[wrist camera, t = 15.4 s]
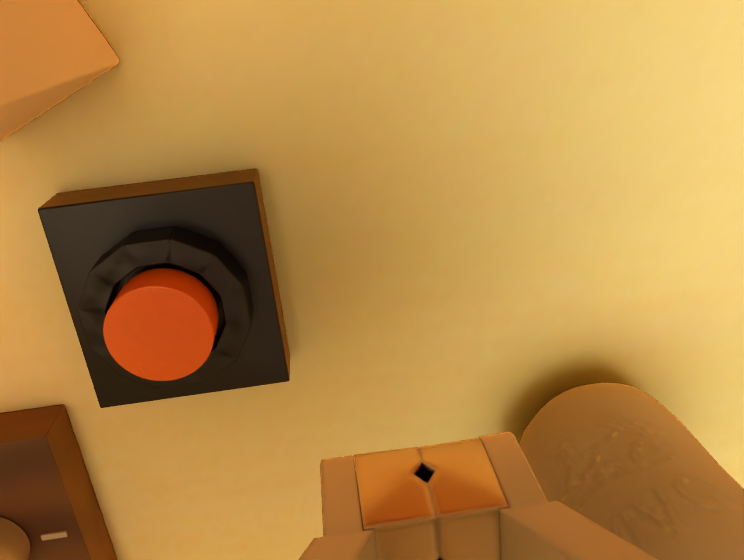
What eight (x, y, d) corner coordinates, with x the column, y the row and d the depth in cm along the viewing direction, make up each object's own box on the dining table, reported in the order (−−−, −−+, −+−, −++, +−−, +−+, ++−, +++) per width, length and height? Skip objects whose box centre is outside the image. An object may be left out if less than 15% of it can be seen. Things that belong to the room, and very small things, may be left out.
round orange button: (227, 351, 33) (223, 373, 31) (129, 364, 32) (118, 388, 30) (208, 261, 31) (201, 279, 29) (103, 274, 30) (90, 294, 28)
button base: (290, 356, 38) (289, 400, 34) (113, 381, 37) (90, 429, 33) (257, 167, 33) (251, 191, 29) (56, 193, 33) (21, 220, 29)
